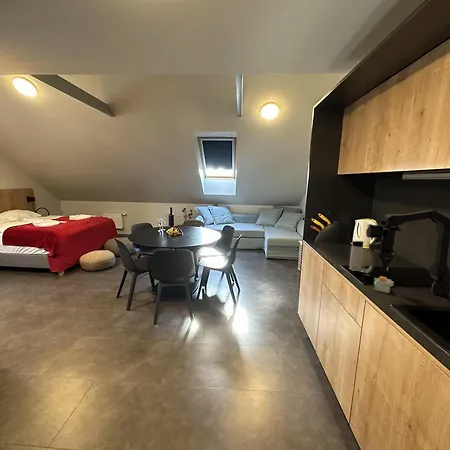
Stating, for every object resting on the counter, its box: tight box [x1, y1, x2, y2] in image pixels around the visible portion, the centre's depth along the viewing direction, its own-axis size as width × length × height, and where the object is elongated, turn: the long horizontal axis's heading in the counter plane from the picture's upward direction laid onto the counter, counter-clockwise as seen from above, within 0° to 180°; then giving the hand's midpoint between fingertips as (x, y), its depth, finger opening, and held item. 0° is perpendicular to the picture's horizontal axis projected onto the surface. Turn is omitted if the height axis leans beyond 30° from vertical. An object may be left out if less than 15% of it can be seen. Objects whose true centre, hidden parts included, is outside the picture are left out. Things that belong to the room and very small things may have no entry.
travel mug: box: [348, 240, 364, 272], centre depth 169 cm, size 6×7×20 cm
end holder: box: [373, 281, 391, 294], centre depth 142 cm, size 7×7×3 cm
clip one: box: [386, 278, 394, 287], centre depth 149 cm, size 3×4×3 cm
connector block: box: [378, 275, 388, 286], centre depth 142 cm, size 4×4×6 cm
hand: (384, 267), depth 140 cm, fingers open, 9 cm apart
